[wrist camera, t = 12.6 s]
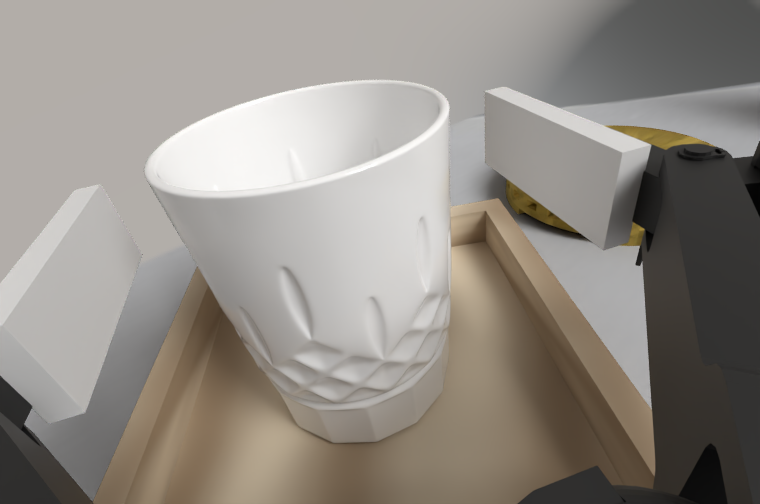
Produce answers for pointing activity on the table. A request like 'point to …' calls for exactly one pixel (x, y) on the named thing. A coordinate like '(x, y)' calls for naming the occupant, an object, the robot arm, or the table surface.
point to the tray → (417, 442)
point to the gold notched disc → (653, 136)
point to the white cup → (326, 244)
